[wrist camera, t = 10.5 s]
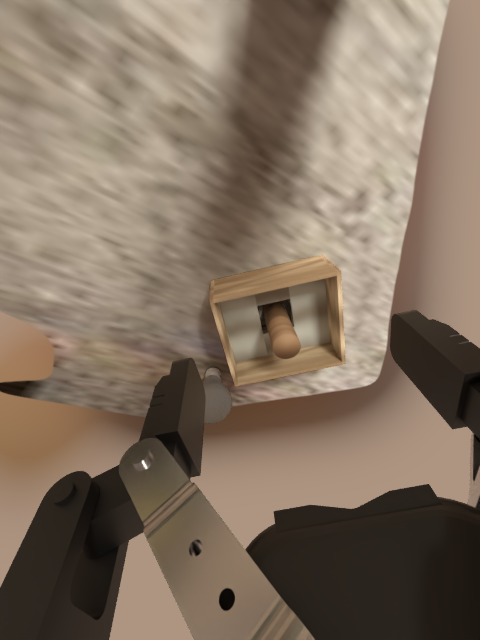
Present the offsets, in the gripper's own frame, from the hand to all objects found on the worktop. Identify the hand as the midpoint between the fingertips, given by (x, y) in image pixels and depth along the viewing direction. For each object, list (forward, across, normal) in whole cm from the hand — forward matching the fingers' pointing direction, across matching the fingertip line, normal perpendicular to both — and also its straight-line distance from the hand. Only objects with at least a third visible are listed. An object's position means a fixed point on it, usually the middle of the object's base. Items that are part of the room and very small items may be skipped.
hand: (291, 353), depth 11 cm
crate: (+29, -2, +14) cm, 32 cm away
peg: (+29, -2, +14) cm, 32 cm away
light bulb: (+29, +10, +23) cm, 38 cm away
